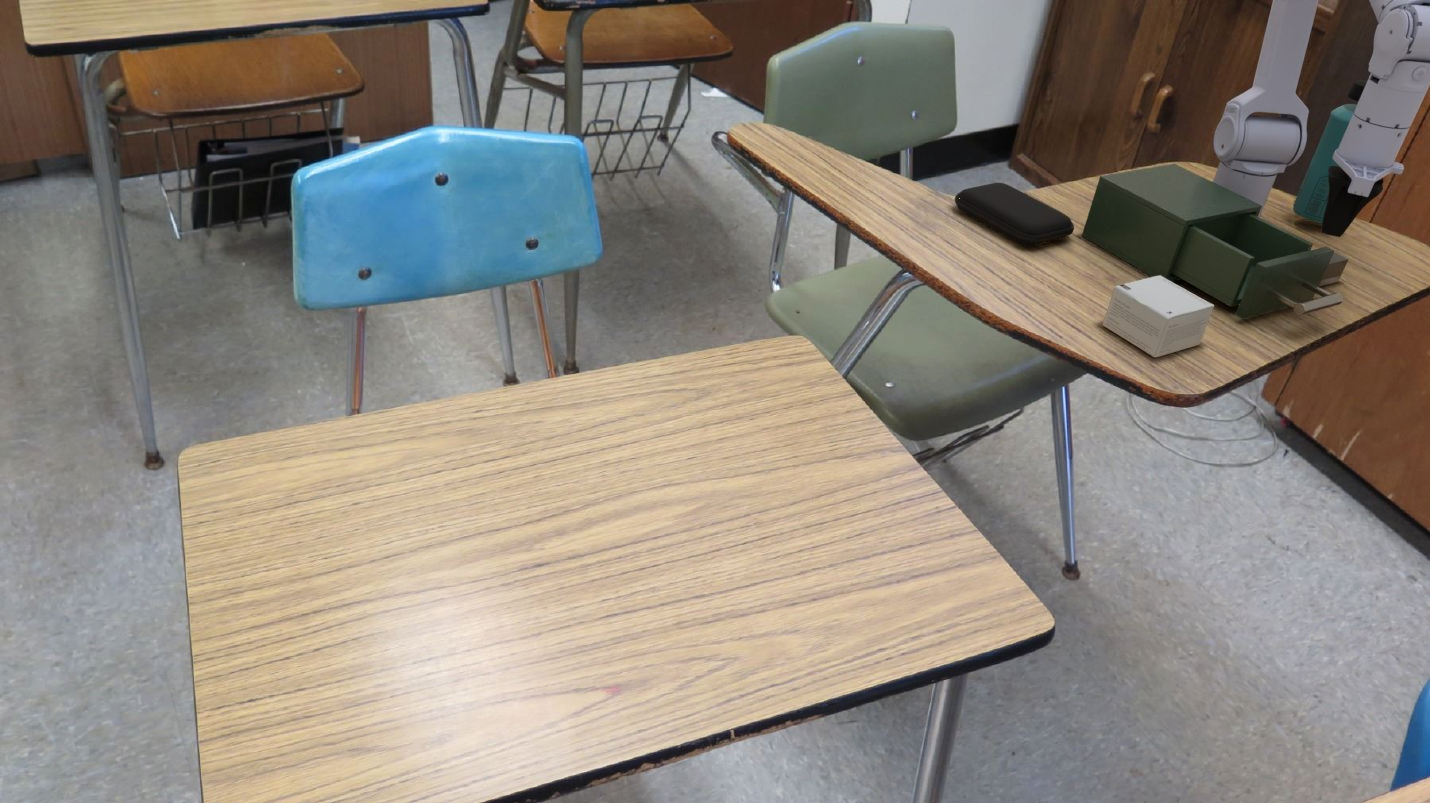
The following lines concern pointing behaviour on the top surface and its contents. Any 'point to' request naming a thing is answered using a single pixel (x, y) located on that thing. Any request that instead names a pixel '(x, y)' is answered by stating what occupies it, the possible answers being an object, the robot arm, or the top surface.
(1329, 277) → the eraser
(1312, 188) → the beverage bottle
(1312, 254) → the drawer
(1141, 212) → the cabinet
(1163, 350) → the small box
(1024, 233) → the carrying case
